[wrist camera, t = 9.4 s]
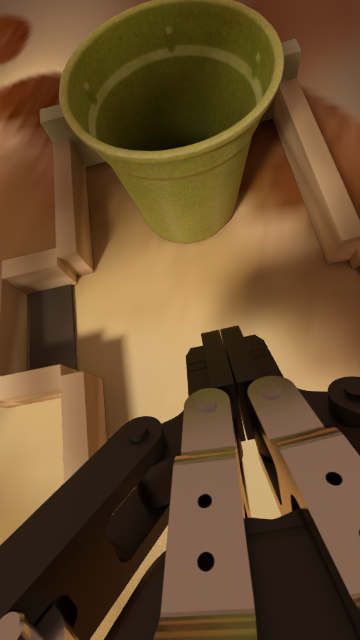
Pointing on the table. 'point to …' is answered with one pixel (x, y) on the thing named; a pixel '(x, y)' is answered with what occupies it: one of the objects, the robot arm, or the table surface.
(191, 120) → the plant pot
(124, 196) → the table surface
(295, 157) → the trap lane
